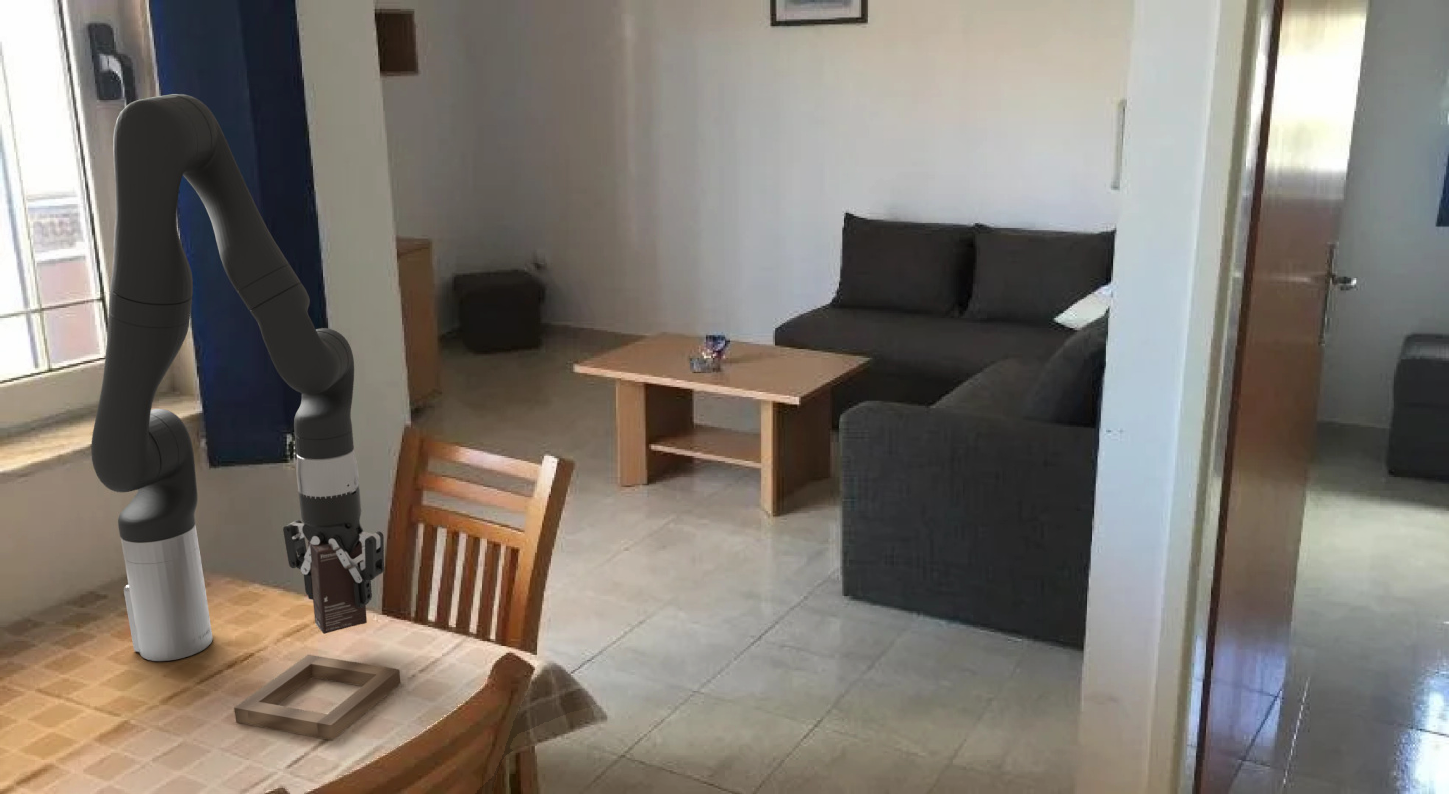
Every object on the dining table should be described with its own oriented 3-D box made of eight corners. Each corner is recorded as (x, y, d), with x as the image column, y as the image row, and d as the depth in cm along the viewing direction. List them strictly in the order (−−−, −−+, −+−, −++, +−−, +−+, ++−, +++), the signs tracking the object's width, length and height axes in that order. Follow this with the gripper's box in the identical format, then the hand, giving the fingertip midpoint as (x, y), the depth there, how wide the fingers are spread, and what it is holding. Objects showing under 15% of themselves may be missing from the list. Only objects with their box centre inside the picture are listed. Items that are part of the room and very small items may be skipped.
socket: (235, 722, 143) (233, 707, 143) (309, 668, 156) (308, 654, 156) (332, 740, 139) (331, 725, 138) (400, 683, 152) (399, 669, 151)
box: (324, 636, 155) (316, 551, 151) (314, 623, 158) (305, 540, 155) (370, 624, 158) (362, 541, 155) (359, 612, 162) (351, 530, 158)
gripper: (262, 487, 151) (275, 605, 156) (359, 500, 147) (369, 621, 152) (299, 469, 158) (311, 582, 163) (393, 480, 154) (402, 597, 159)
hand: (339, 601), depth 157 cm, fingers closed on box, 6 cm apart
